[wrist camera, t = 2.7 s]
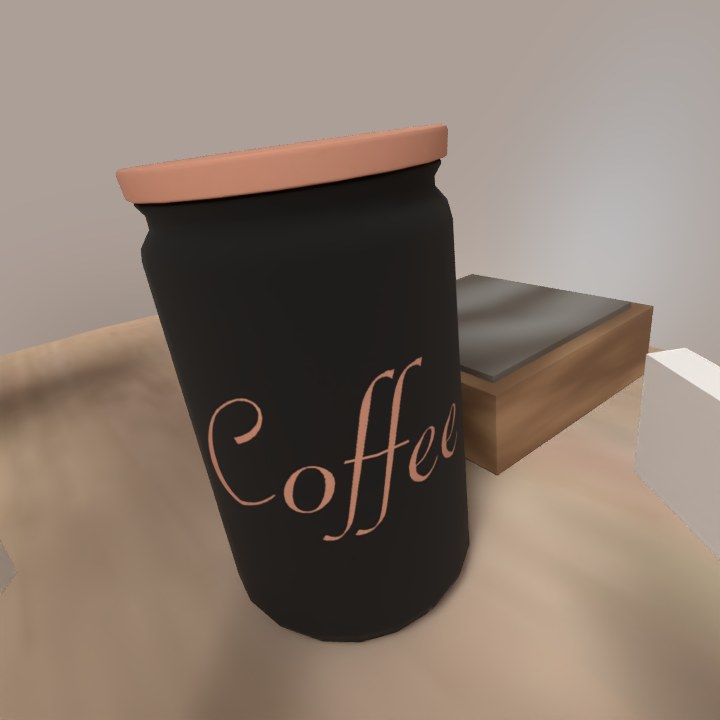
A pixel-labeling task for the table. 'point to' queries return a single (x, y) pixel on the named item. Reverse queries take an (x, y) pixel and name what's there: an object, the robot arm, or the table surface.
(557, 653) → the table surface
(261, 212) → the coffee jar
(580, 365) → the walnut stand
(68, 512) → the table surface
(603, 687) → the table surface
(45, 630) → the table surface
